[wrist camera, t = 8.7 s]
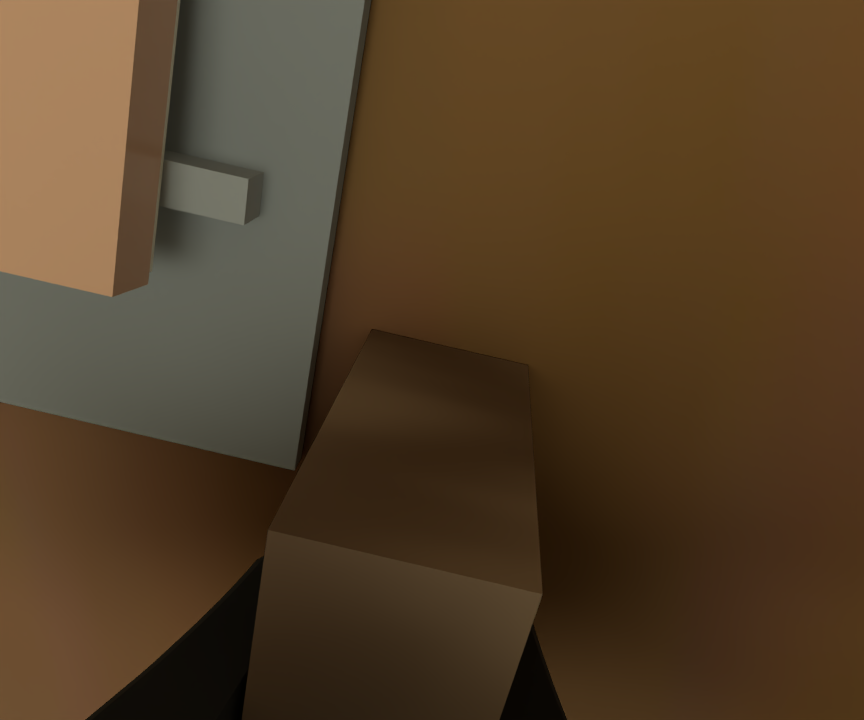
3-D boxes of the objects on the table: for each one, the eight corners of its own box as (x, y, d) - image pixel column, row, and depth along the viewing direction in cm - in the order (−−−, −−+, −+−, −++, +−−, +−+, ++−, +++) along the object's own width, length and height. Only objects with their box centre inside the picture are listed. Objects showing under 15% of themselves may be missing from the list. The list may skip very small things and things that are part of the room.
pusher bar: (528, 365, 11) (542, 593, 6) (433, 696, 13) (393, 1027, 9) (372, 329, 11) (267, 530, 6) (309, 667, 13) (205, 981, 9)
